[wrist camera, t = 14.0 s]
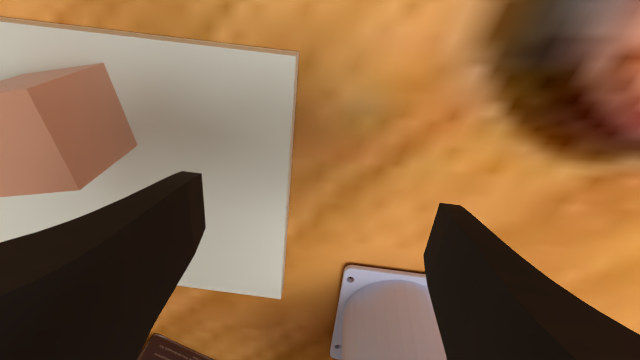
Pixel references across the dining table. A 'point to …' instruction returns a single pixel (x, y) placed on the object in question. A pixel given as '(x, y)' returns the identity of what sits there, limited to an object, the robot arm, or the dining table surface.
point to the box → (168, 350)
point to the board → (180, 140)
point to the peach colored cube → (59, 130)
